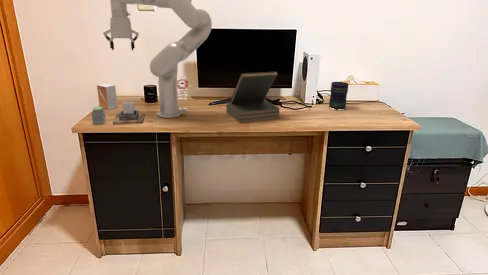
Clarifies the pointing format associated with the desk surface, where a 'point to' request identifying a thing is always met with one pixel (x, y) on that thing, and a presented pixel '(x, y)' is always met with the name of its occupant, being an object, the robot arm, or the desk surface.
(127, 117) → the square base with tray
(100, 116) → the button post
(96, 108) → the button
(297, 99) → the desk surface
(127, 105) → the block
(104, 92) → the small box
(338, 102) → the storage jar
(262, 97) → the tilted panel stand
